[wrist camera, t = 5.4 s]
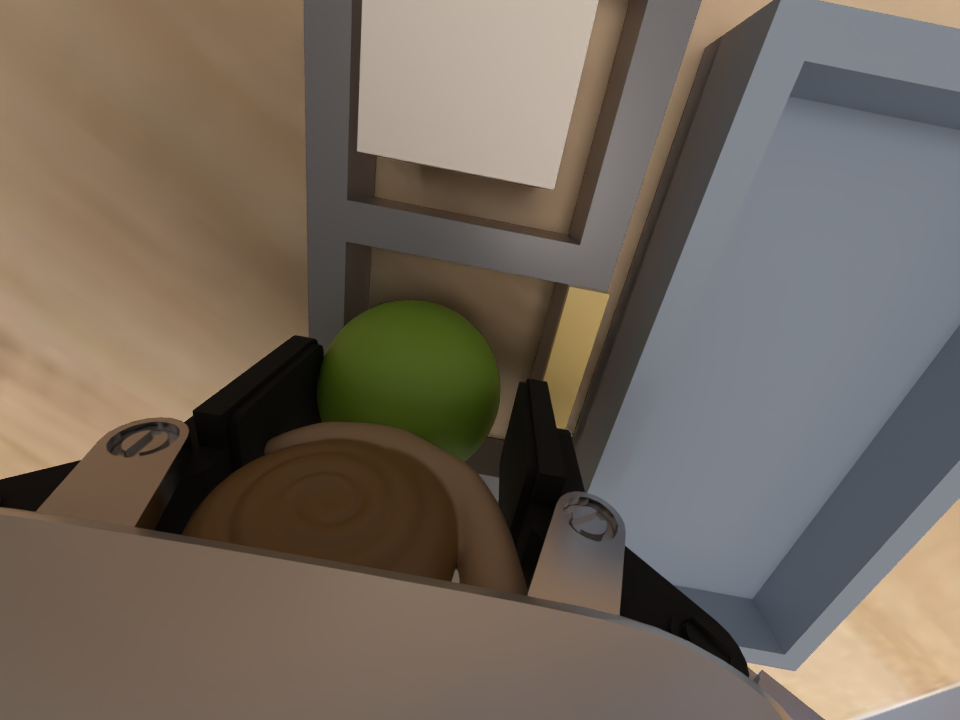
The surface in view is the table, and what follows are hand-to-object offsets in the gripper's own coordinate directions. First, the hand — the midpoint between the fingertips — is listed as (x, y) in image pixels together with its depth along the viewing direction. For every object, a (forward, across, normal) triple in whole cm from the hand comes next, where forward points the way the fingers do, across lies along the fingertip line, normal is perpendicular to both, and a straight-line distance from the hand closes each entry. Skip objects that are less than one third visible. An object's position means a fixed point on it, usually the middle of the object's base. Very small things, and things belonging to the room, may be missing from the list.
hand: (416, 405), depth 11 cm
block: (+5, 0, -8) cm, 10 cm away
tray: (+5, -12, 0) cm, 13 cm away
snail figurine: (+4, 0, 0) cm, 4 cm away
